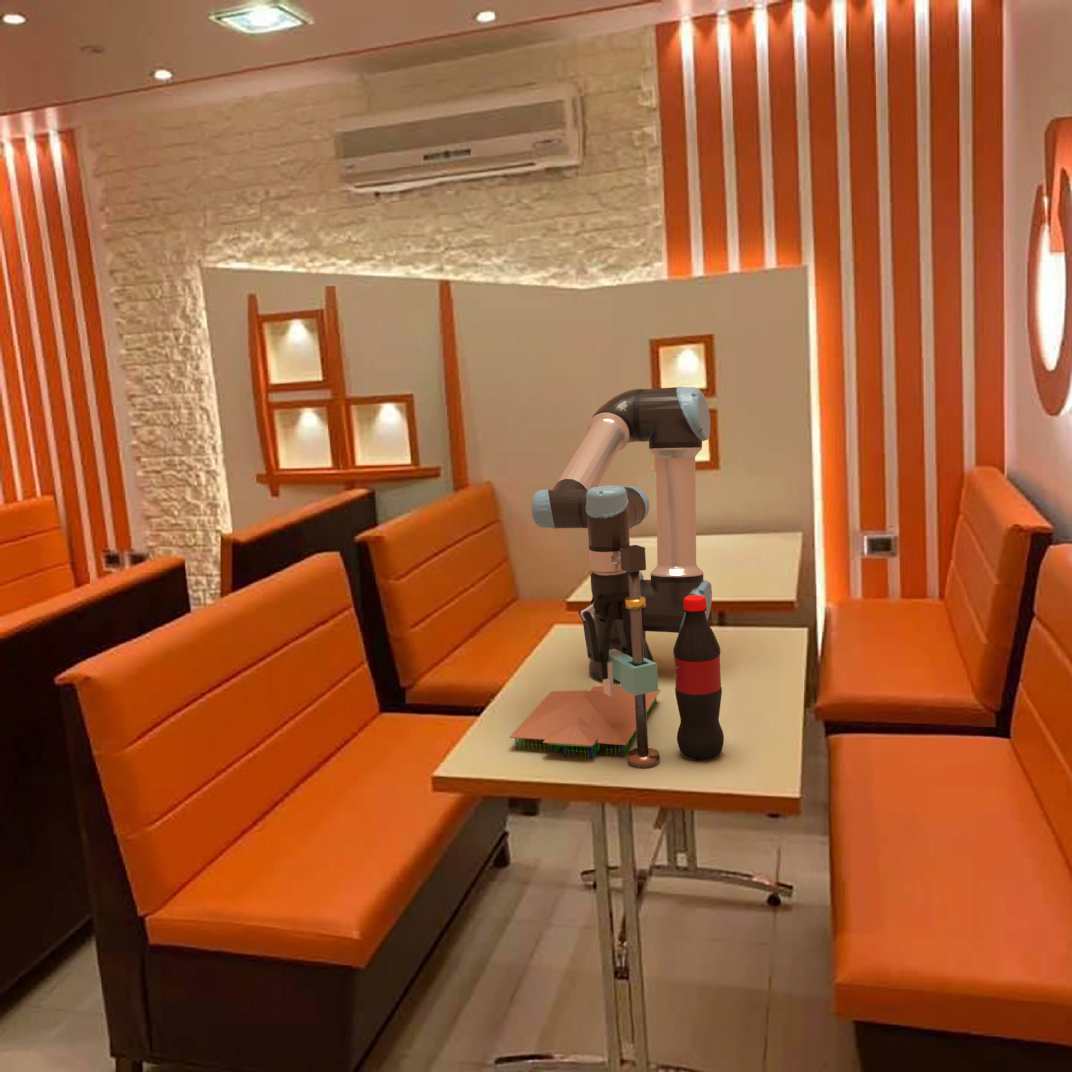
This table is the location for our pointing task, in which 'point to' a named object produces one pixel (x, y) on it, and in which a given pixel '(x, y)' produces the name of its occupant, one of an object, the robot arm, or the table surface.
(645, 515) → the robot arm
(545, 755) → the table surface
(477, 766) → the table surface
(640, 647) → the post stand
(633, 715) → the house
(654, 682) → the teal block with hole
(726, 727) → the table surface
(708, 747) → the cola bottle
